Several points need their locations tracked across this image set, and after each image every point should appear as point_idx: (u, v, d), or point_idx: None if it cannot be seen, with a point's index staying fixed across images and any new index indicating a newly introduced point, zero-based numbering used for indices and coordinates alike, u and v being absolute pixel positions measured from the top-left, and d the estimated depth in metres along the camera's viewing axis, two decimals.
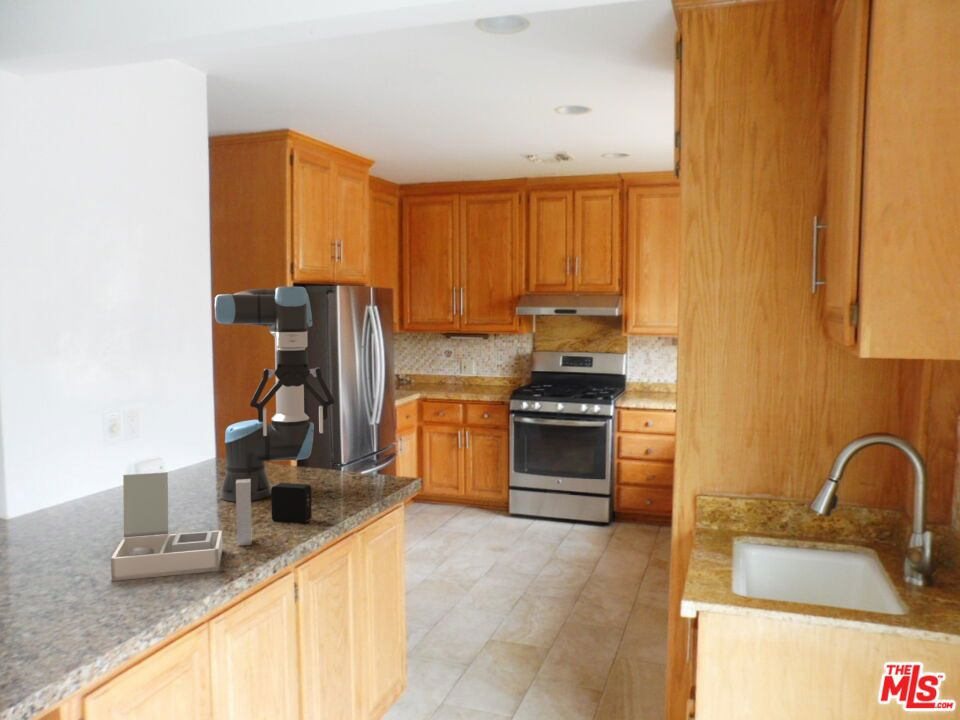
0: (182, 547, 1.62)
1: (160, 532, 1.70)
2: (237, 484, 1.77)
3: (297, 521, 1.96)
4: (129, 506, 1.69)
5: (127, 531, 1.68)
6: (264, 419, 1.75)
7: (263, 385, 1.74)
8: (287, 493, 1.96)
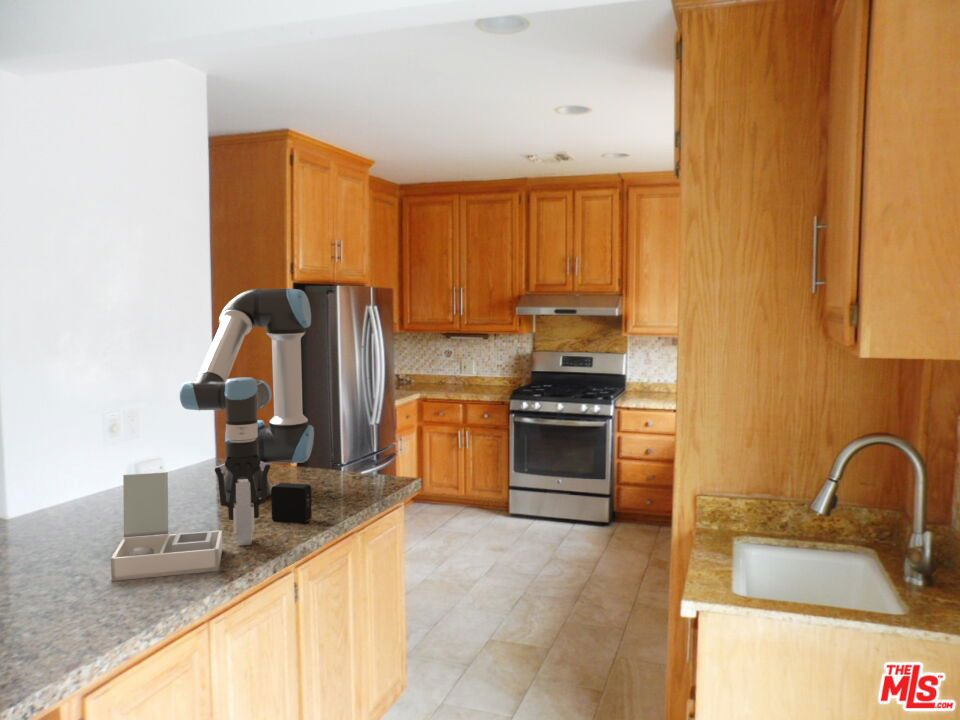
0: (182, 547, 1.62)
1: (160, 532, 1.70)
2: (237, 484, 1.77)
3: (297, 521, 1.96)
4: (129, 506, 1.69)
5: (127, 531, 1.68)
6: (234, 517, 1.78)
7: (222, 482, 1.76)
8: (287, 493, 1.96)
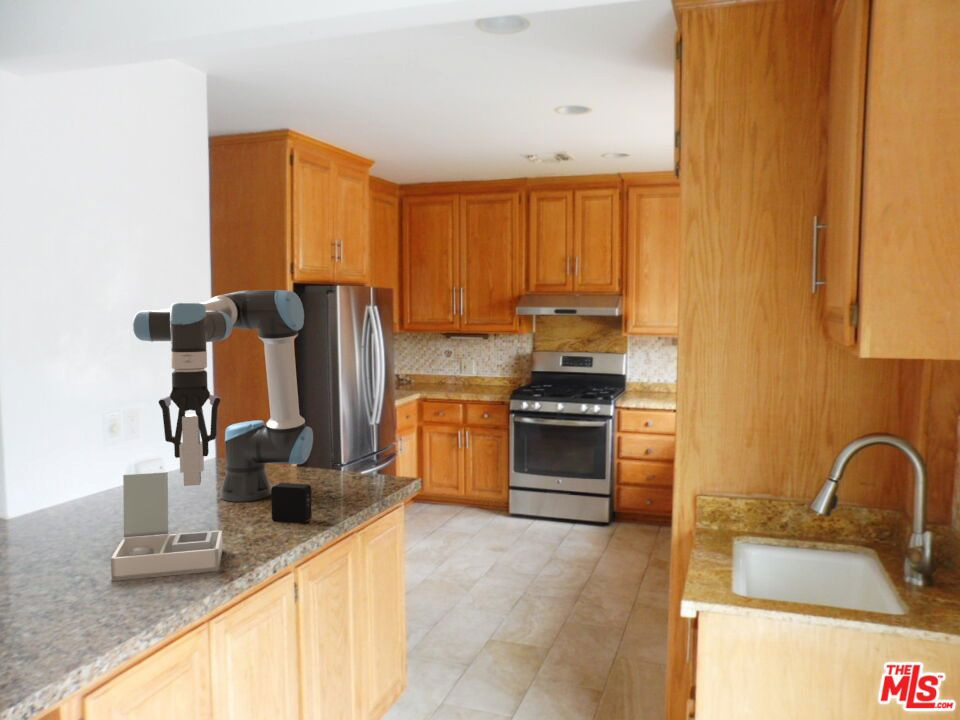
0: (182, 547, 1.62)
1: (160, 532, 1.70)
2: (183, 418, 1.62)
3: (297, 521, 1.96)
4: (129, 506, 1.69)
5: (127, 531, 1.68)
6: (181, 455, 1.63)
7: (167, 416, 1.61)
8: (287, 493, 1.96)
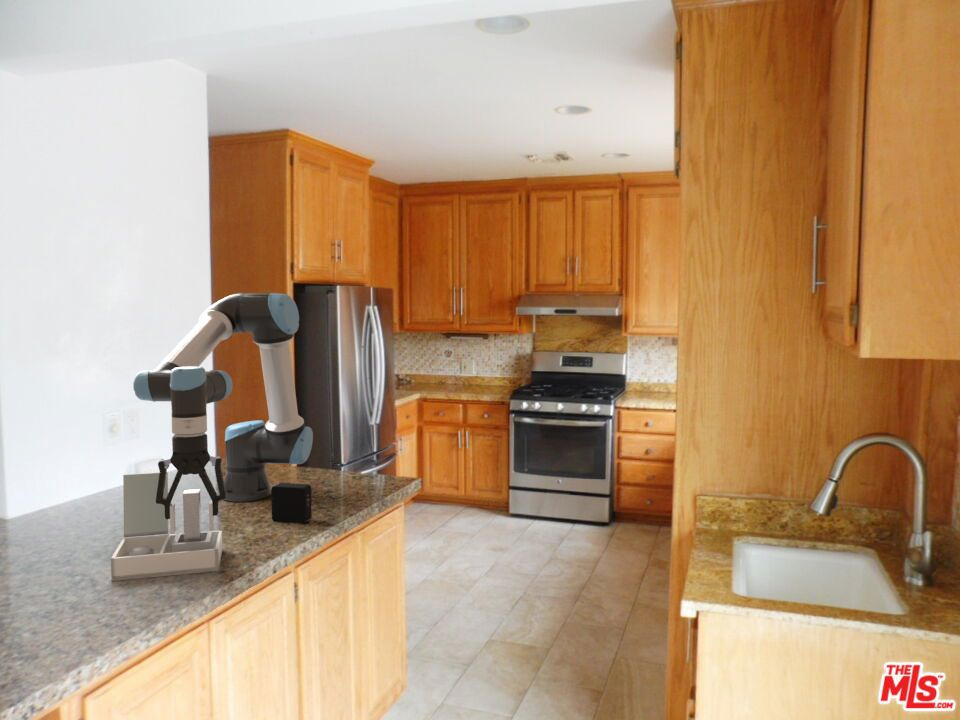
0: (182, 547, 1.62)
1: (160, 532, 1.70)
2: (184, 495, 1.63)
3: (297, 521, 1.96)
4: (129, 506, 1.69)
5: (127, 531, 1.68)
6: (171, 516, 1.63)
7: (162, 478, 1.62)
8: (287, 493, 1.96)
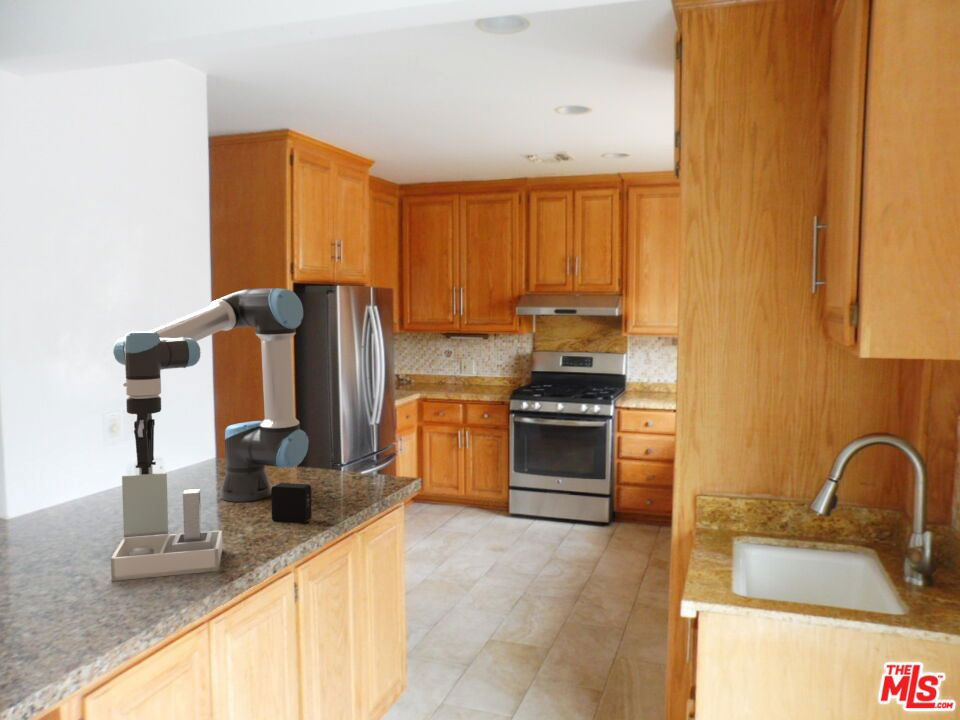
0: (182, 547, 1.62)
1: (160, 532, 1.70)
2: (184, 495, 1.63)
3: (297, 521, 1.96)
4: (128, 507, 1.68)
5: (127, 531, 1.68)
6: None
7: None
8: (287, 493, 1.96)
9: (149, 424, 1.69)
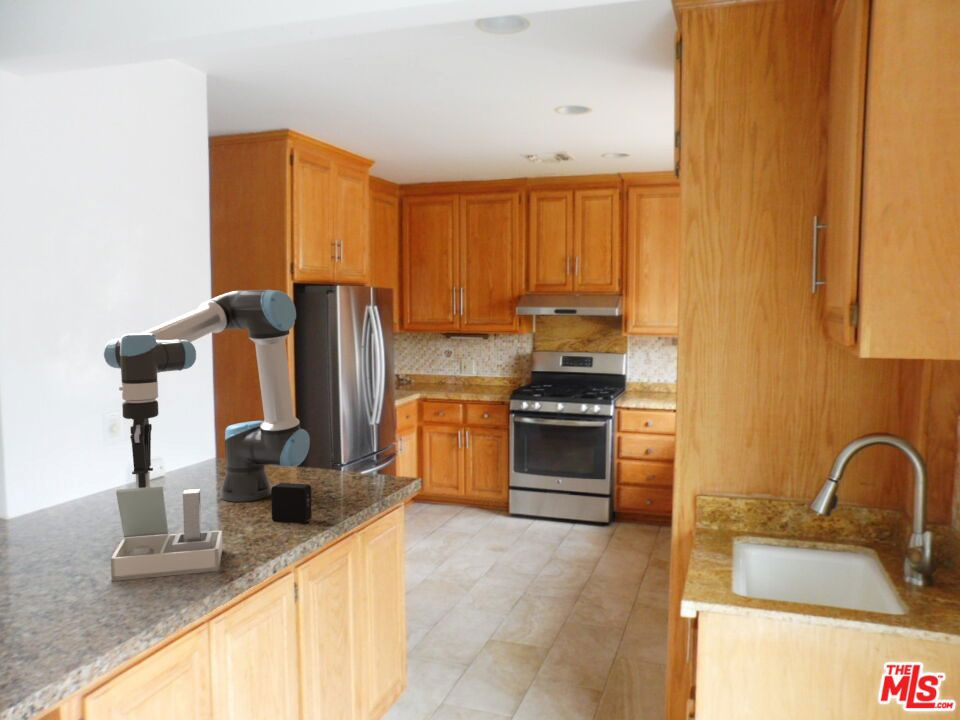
0: (182, 547, 1.62)
1: (160, 533, 1.70)
2: (184, 495, 1.63)
3: (297, 521, 1.96)
4: (126, 515, 1.65)
5: (126, 533, 1.68)
6: None
7: None
8: (287, 493, 1.96)
9: (146, 429, 1.64)
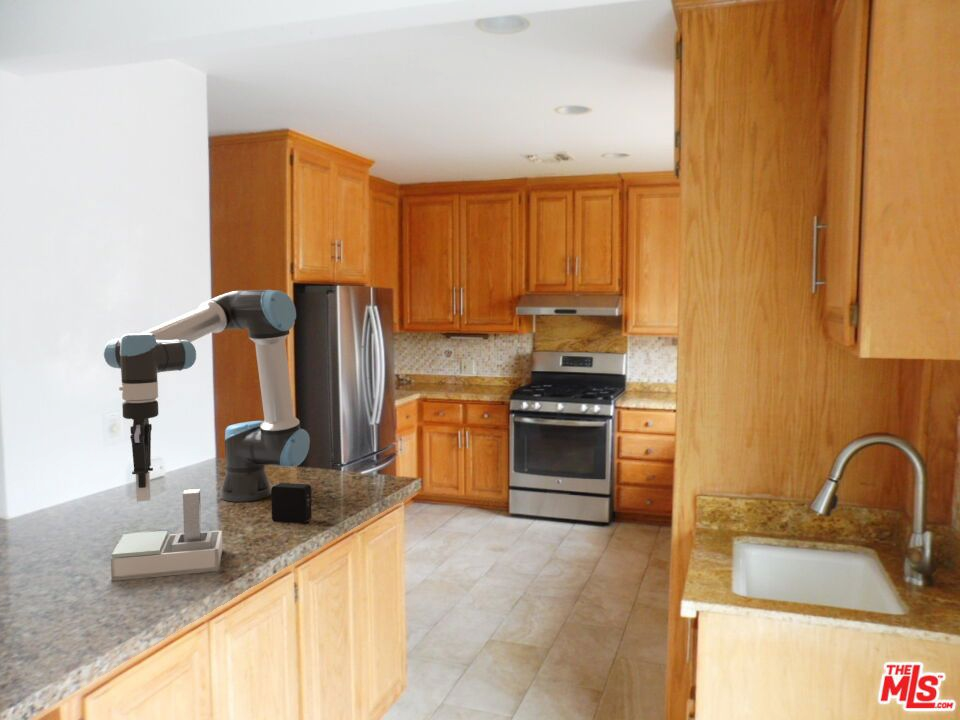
0: (182, 547, 1.62)
1: None
2: (184, 495, 1.63)
3: (297, 521, 1.96)
4: None
5: None
6: None
7: None
8: (287, 493, 1.96)
9: (146, 429, 1.64)
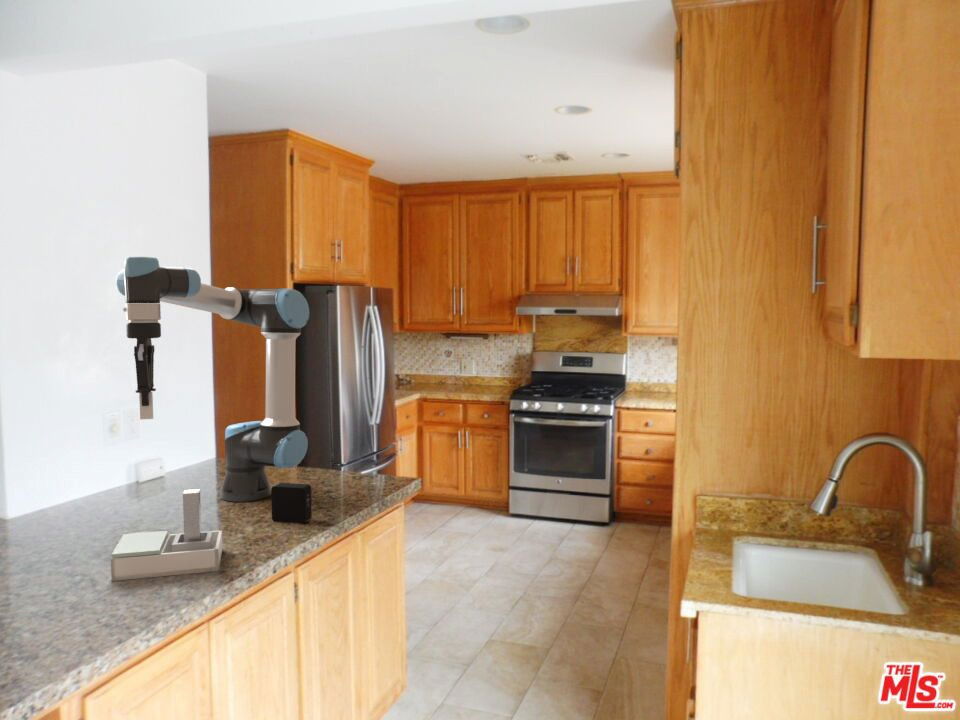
0: (182, 547, 1.62)
1: None
2: (184, 495, 1.63)
3: (297, 521, 1.96)
4: None
5: None
6: None
7: None
8: (287, 493, 1.96)
9: (149, 349, 1.70)
